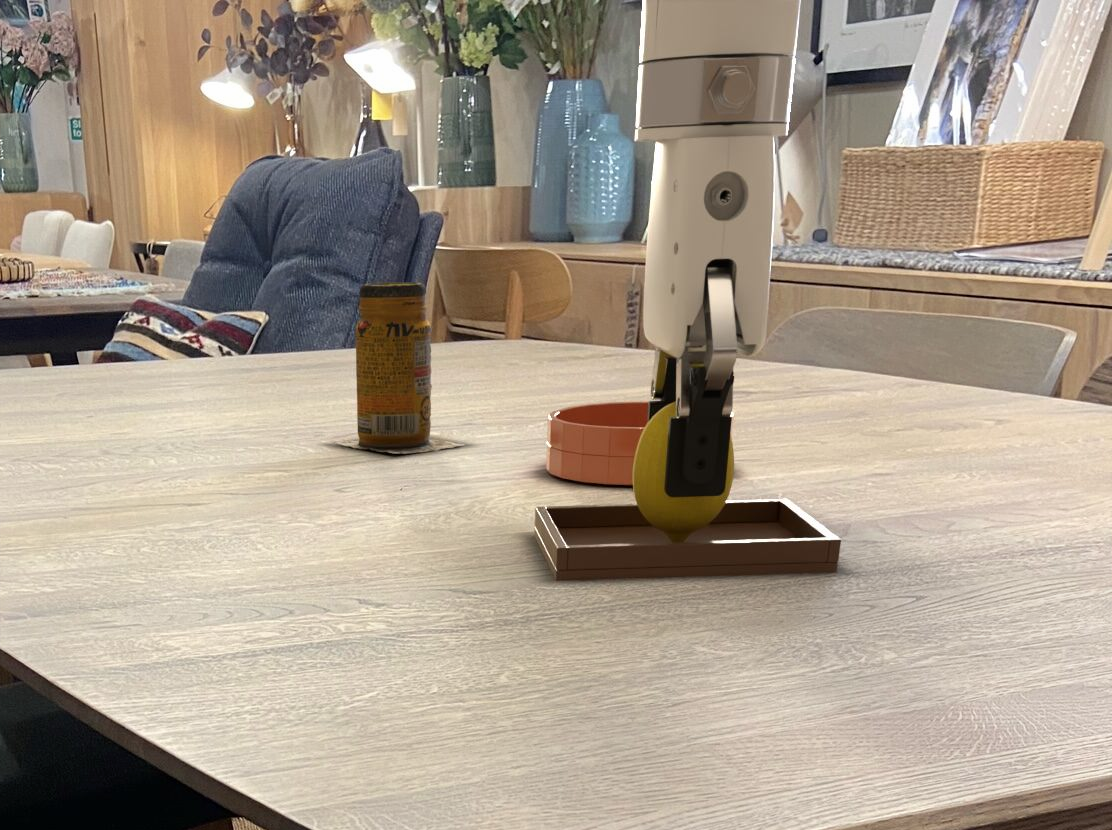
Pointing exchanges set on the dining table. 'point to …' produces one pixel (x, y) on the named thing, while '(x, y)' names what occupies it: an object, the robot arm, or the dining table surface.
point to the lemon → (649, 481)
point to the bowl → (596, 441)
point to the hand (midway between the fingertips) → (682, 481)
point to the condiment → (394, 370)
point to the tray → (714, 550)
